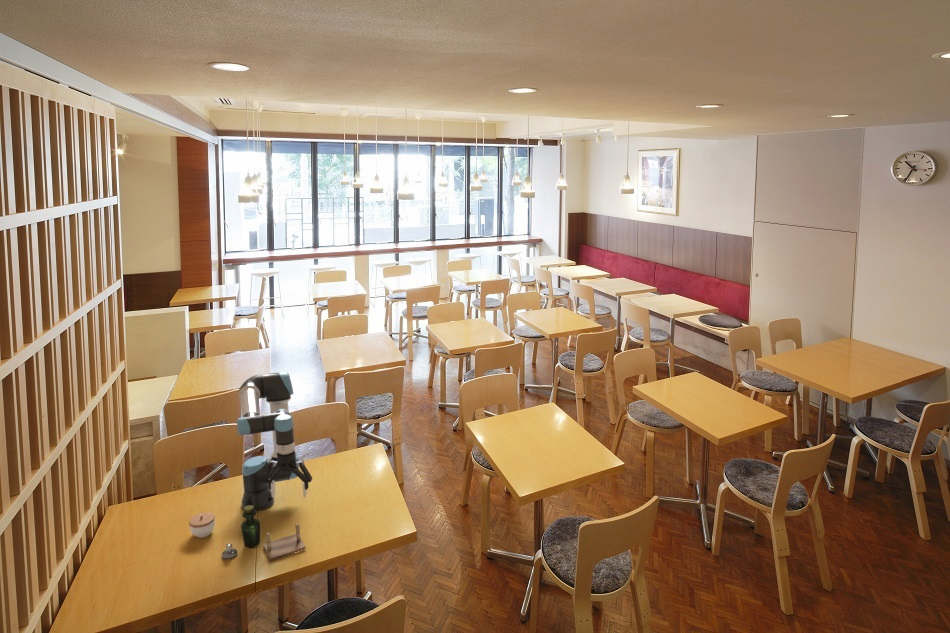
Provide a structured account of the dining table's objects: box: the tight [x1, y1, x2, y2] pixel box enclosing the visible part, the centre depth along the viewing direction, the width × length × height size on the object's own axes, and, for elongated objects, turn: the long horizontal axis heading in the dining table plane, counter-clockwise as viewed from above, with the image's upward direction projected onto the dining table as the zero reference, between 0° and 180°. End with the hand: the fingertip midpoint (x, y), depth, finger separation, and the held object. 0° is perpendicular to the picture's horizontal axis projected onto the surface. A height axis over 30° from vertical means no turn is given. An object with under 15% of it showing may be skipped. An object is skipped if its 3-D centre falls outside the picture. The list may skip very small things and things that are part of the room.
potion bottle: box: [240, 505, 261, 549], centre depth 255 cm, size 8×8×18 cm
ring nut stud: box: [221, 542, 238, 561], centre depth 249 cm, size 6×6×5 cm
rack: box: [262, 523, 307, 563], centre depth 253 cm, size 12×15×10 cm
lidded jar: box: [188, 511, 216, 539], centre depth 264 cm, size 11×11×9 cm
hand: (289, 495), depth 252 cm, fingers open, 13 cm apart
